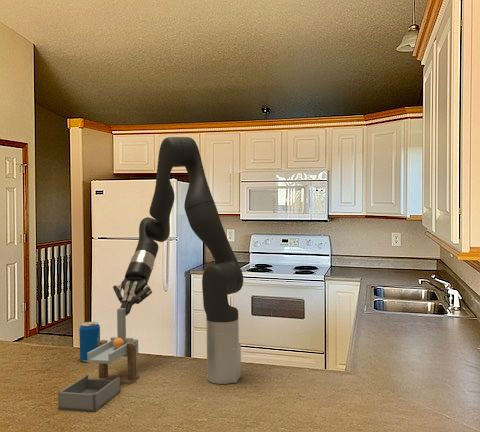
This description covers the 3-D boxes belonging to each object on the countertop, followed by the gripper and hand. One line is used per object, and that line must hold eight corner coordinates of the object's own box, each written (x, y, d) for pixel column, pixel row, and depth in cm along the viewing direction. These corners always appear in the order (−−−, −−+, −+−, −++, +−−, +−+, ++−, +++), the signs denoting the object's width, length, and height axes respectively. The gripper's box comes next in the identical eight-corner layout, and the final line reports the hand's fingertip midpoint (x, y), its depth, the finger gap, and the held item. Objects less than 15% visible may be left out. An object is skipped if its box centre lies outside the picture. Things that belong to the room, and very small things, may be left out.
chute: (139, 352, 145) (138, 306, 145) (110, 372, 127) (109, 318, 127) (119, 351, 146) (118, 305, 146) (87, 370, 128) (86, 318, 128)
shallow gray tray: (120, 391, 128) (119, 377, 128) (95, 411, 116) (94, 395, 116) (86, 389, 131) (86, 374, 130) (58, 408, 118) (58, 392, 118)
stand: (140, 378, 139) (139, 340, 139) (132, 384, 134) (131, 345, 134) (103, 375, 142) (103, 338, 141) (95, 381, 137) (94, 343, 137)
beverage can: (94, 363, 154) (93, 326, 153) (76, 362, 155) (75, 325, 155) (104, 357, 160) (103, 321, 160) (86, 356, 161) (85, 321, 161)
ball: (126, 347, 140) (125, 336, 140) (121, 350, 137) (120, 339, 137) (115, 347, 140) (115, 336, 140) (110, 349, 137) (110, 338, 137)
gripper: (117, 260, 153) (98, 306, 141) (156, 260, 149) (140, 308, 138) (125, 274, 158) (108, 320, 146) (163, 275, 155) (148, 321, 143)
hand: (123, 314), depth 142 cm, fingers closed
